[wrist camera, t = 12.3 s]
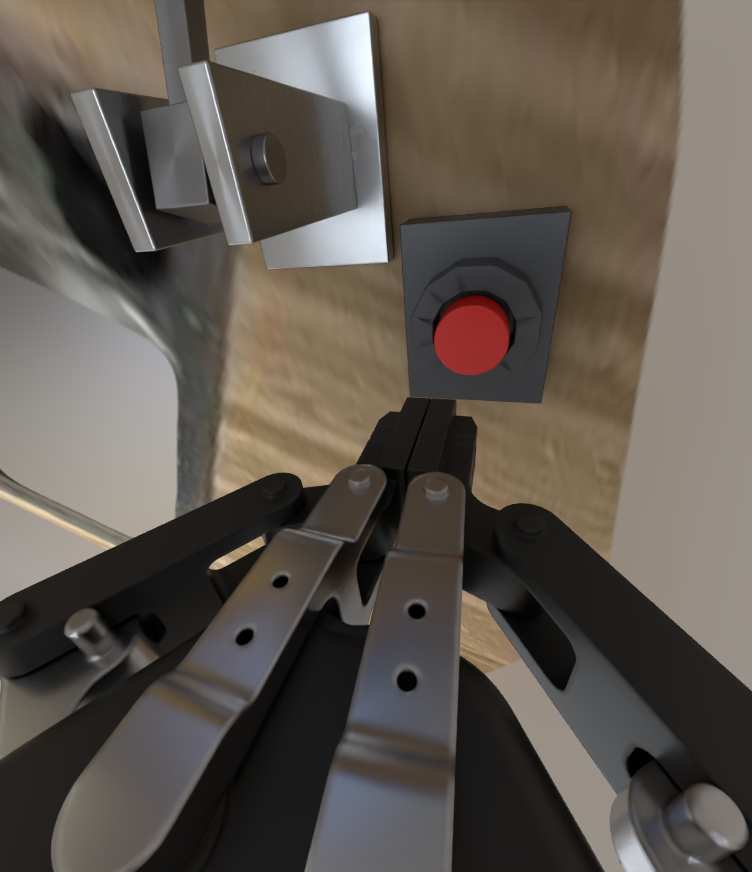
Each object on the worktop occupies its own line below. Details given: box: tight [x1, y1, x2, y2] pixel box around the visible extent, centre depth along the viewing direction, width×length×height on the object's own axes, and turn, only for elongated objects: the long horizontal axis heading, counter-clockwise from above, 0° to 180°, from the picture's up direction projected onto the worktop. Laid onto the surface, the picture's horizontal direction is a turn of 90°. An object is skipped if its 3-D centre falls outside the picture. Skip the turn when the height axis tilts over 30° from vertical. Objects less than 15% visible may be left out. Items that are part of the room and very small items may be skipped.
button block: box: [400, 206, 572, 403], centre depth 22 cm, size 10×8×4 cm
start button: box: [434, 295, 510, 375], centre depth 20 cm, size 4×4×2 cm
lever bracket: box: [71, 11, 394, 269], centre depth 17 cm, size 10×8×12 cm
